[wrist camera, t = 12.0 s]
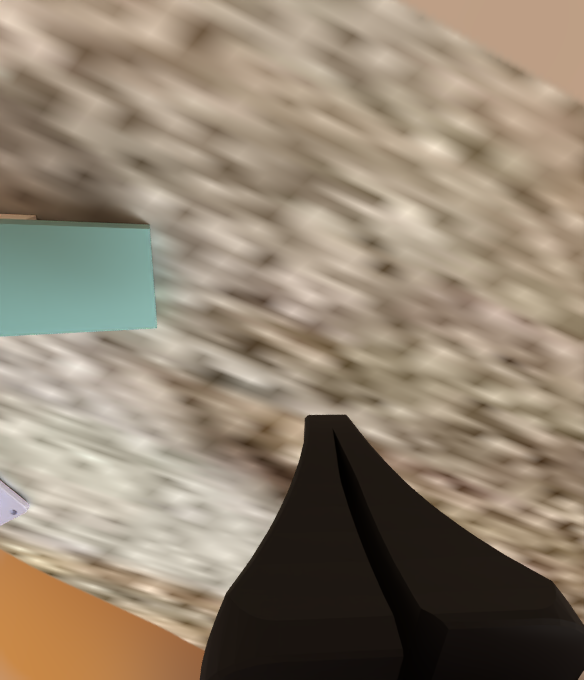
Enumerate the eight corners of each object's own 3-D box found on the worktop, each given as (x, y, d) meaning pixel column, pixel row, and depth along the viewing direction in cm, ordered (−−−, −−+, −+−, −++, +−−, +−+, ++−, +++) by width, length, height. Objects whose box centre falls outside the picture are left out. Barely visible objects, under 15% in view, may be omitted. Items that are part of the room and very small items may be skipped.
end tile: (156, 317, 20) (-20, 325, 17) (149, 224, 18) (-51, 216, 15) (156, 328, 19) (-35, 338, 16) (149, 228, 17) (-70, 221, 14)
